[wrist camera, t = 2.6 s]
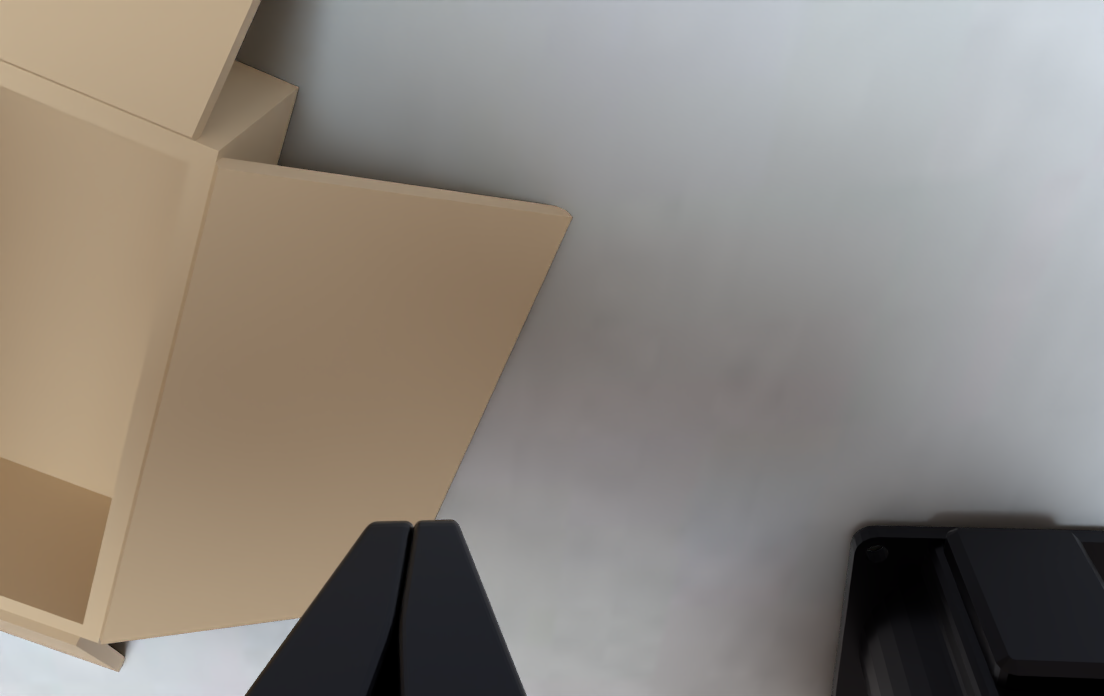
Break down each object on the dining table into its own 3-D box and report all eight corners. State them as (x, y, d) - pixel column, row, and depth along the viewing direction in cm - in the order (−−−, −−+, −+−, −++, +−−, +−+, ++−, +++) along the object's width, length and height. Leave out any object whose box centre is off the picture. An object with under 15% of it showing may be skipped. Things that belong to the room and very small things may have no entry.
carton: (710, -90, 17) (725, -59, 13) (334, 736, 28) (285, 879, 25) (-213, -524, 15) (-498, -631, 11) (-220, 542, 27) (-364, 664, 23)
